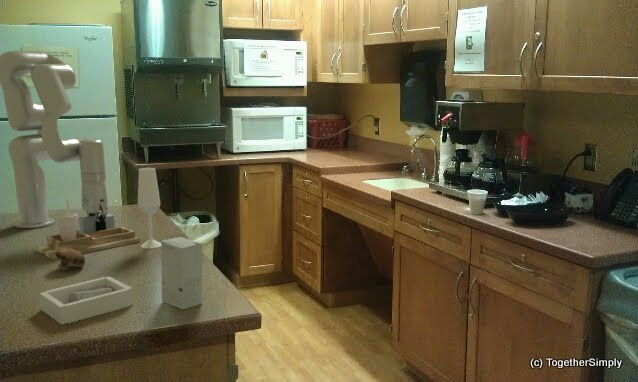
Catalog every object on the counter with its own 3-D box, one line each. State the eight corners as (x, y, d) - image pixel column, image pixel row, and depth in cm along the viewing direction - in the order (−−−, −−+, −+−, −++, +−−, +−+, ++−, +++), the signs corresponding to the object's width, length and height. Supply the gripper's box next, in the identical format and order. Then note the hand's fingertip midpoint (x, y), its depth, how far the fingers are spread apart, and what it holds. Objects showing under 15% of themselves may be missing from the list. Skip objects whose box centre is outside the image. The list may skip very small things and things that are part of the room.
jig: (36, 250, 185) (35, 237, 184) (120, 234, 203) (119, 221, 202) (53, 259, 176) (52, 245, 175) (139, 241, 194) (139, 228, 193)
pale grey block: (80, 235, 202) (78, 217, 201) (110, 230, 208) (109, 213, 207) (84, 238, 199) (82, 220, 197) (115, 233, 204) (113, 215, 203)
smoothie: (72, 249, 181) (68, 203, 179) (53, 248, 183) (49, 202, 180) (85, 243, 188) (81, 199, 185) (66, 242, 189) (62, 198, 186)
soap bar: (108, 311, 147) (112, 287, 148) (117, 312, 142) (121, 287, 143) (66, 308, 141) (70, 283, 142) (74, 308, 136) (78, 282, 137)
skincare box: (161, 302, 143) (157, 240, 140) (182, 295, 147) (179, 235, 144) (183, 311, 137) (180, 247, 134) (205, 303, 142) (202, 241, 139)
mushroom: (50, 264, 161) (61, 242, 163) (49, 267, 168) (59, 246, 170) (79, 275, 164) (90, 253, 166) (77, 278, 171) (87, 257, 173)
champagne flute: (151, 241, 194) (146, 166, 190) (167, 244, 191) (163, 168, 186) (135, 246, 188) (130, 169, 184) (152, 249, 185) (147, 171, 181)
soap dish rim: (40, 309, 139) (39, 292, 138) (109, 291, 150) (108, 275, 149) (62, 325, 130) (60, 307, 129) (133, 305, 141) (132, 288, 140)
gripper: (71, 175, 203) (75, 229, 207) (93, 182, 191) (97, 238, 195) (93, 173, 208) (97, 225, 212) (116, 179, 196) (120, 234, 200)
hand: (97, 230), depth 203 cm, fingers closed on pale grey block, 4 cm apart
